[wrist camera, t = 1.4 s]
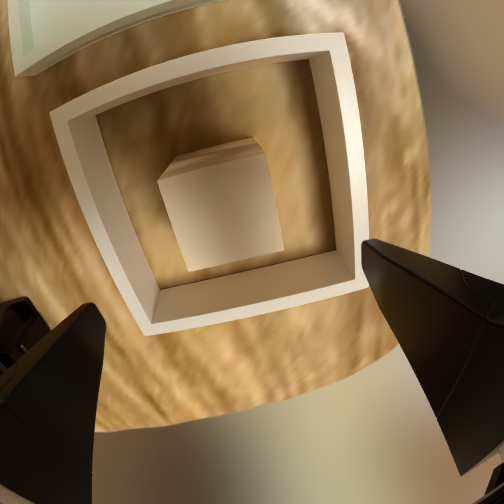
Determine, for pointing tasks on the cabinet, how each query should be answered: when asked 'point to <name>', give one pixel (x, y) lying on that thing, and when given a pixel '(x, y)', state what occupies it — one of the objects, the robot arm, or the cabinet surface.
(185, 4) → the sage tray
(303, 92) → the cabinet surface
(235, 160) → the birch block
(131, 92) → the white square frame
